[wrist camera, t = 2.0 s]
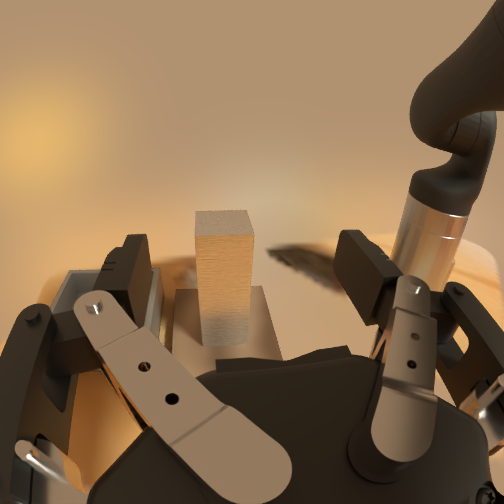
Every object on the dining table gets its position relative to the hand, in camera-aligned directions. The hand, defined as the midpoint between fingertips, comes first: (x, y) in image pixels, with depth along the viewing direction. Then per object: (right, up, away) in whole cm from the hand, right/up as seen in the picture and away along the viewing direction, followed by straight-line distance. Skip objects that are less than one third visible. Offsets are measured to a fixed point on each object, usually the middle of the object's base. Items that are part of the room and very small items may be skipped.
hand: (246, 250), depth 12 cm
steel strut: (-3, -9, +22) cm, 24 cm away
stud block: (-3, -10, +23) cm, 26 cm away
